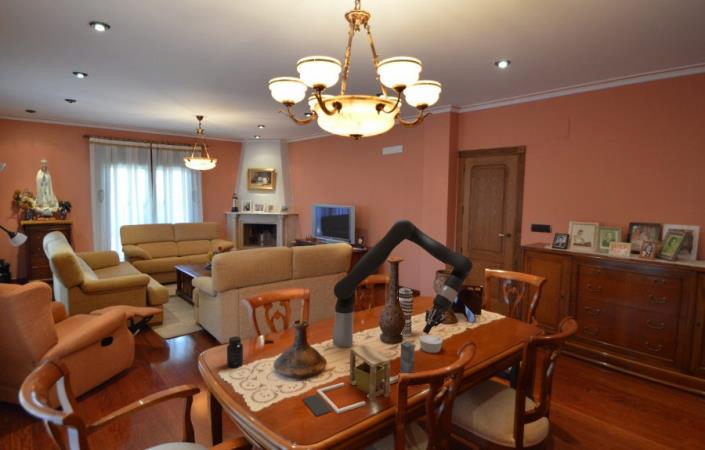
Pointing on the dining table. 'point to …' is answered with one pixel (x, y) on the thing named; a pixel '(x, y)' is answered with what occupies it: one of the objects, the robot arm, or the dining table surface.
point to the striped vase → (406, 308)
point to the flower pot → (367, 376)
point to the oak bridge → (371, 367)
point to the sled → (401, 364)
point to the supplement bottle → (235, 352)
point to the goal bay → (320, 392)
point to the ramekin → (430, 343)
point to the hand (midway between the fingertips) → (425, 332)
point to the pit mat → (316, 405)
